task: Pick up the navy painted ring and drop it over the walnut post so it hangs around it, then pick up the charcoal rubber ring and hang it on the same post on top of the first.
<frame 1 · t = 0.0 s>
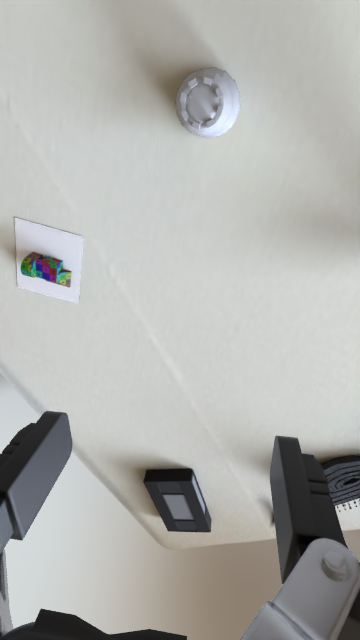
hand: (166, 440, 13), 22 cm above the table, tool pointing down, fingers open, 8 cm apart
vhs tape: (180, 494, 55), on the table
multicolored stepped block: (49, 262, 35), on the table
rook chess piece: (211, 104, 26), on the table
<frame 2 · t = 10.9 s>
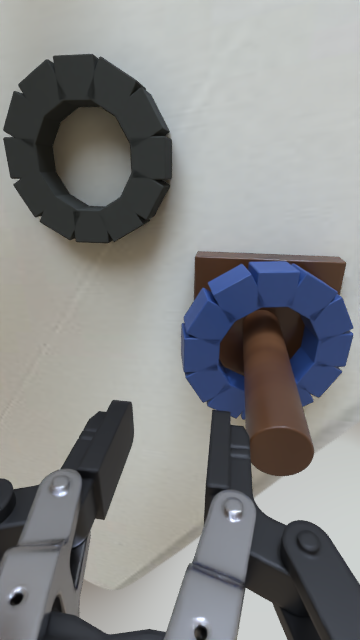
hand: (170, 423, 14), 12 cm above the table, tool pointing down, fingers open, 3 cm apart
charcoal ring: (96, 159, 21), on the table
stand: (259, 317, 24), on the table
navy ring: (258, 336, 21), point 3 cm above the table, tilted 13°
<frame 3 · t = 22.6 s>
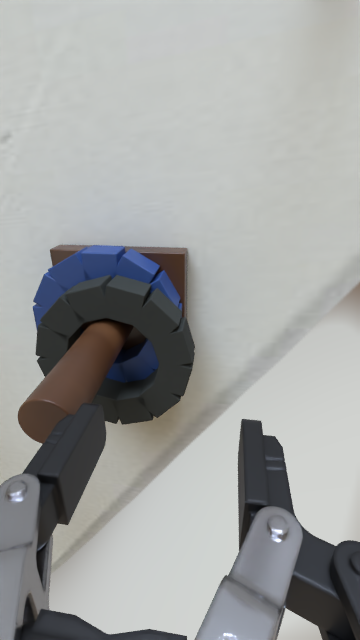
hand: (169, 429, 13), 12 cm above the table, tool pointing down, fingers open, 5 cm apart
charcoal ring: (121, 345, 22), point 3 cm above the table, touching navy ring
stand: (126, 306, 25), on the table
navy ring: (114, 313, 24), point 1 cm above the table, touching charcoal ring, stand
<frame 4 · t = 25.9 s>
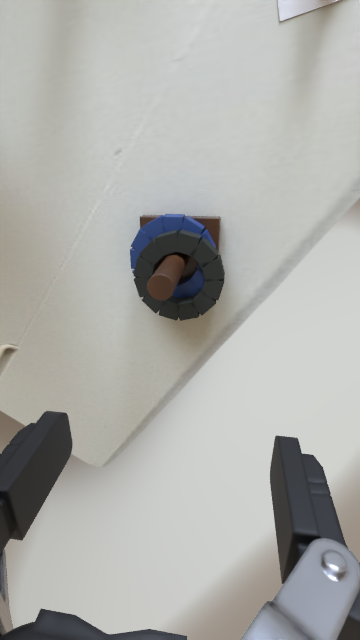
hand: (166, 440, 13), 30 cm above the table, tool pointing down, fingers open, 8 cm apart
charcoal ring: (180, 273, 38), point 3 cm above the table, touching navy ring
stand: (180, 254, 40), on the table
navy ring: (175, 256, 39), point 1 cm above the table, touching charcoal ring, stand
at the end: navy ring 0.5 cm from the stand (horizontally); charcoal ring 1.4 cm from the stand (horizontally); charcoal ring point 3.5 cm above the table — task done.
